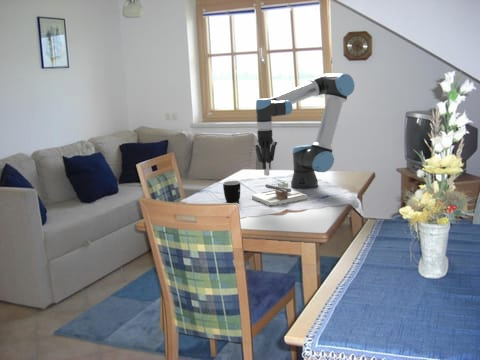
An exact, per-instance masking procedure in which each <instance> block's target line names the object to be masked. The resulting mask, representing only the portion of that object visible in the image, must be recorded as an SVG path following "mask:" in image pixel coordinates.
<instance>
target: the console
mask: <svg viewBox="0 0 480 360" xmlns="http://www.w3.org/2000/svg"><path fill="white" fill-rule="evenodd" d="M287 194H288V198H286V199H281V200H280V199H278V198H277V190H275V189H271V190H269V191H268V190H267V191H261V192H260V193H254V194H252V195H251V199H252V200H254V201H256V202H259V201H260V203H262V202H263V203H262V204H264V203H265V204H264V205H266V204H268V205H267V206H269V205H275V206H277V205H276V204H279V205H282V203H284V204H288V203H287V202H289V203H293V201H294V202H297V201H298V200H299V201H303V200H307V199H308V194H305V193H302V192H299V191H296V190H294V189H291V192H287ZM299 201H298V202H299Z"/></svg>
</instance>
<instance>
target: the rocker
mask: <svg viewBox="0 0 480 360" xmlns="http://www.w3.org/2000/svg"><path fill="white" fill-rule="evenodd" d="M265 188H266V189H270V190H280V189H284V190H286V191H287V192H291V190H292V188H290V187H288V188H287V187H284V188H283V187H278V185H277V186H276V185H273V184H270V183H266V184H265Z"/></svg>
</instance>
